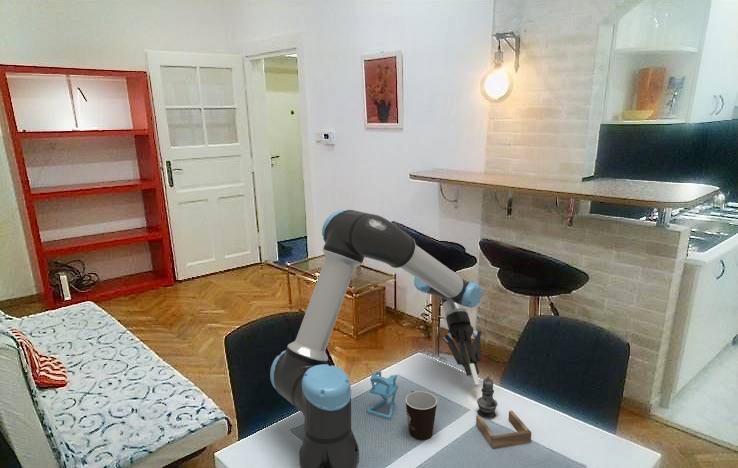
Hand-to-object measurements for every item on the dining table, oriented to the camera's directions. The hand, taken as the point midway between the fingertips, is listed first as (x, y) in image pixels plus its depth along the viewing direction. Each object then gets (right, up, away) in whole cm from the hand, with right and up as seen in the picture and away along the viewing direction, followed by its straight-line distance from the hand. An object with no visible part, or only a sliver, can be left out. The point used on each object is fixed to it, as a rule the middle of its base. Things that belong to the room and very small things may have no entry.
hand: (476, 385), depth 139 cm
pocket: (+3, -8, -15) cm, 17 cm away
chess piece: (+2, -6, -6) cm, 9 cm away
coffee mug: (-18, -8, -13) cm, 24 cm away
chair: (-28, -6, -3) cm, 29 cm away
